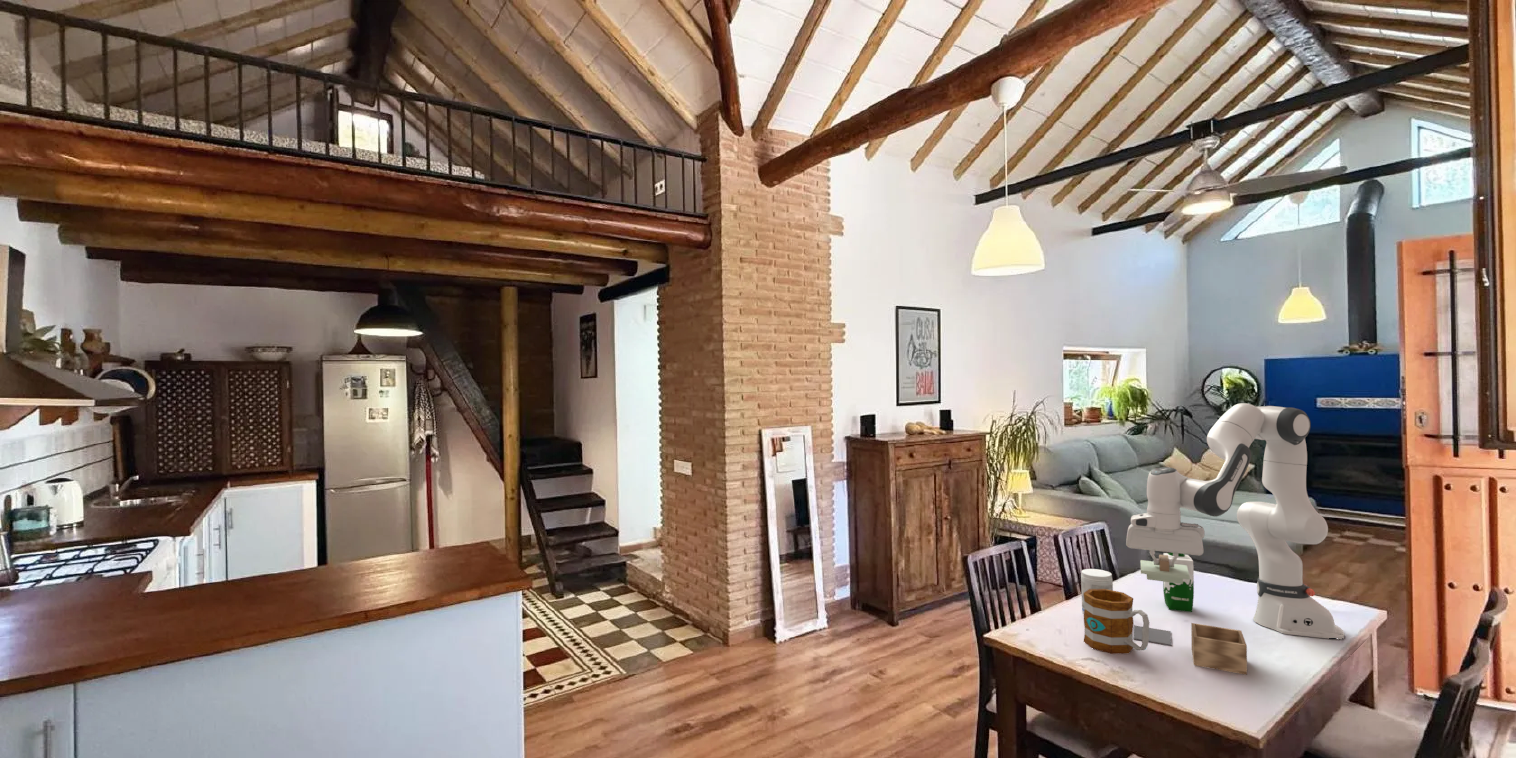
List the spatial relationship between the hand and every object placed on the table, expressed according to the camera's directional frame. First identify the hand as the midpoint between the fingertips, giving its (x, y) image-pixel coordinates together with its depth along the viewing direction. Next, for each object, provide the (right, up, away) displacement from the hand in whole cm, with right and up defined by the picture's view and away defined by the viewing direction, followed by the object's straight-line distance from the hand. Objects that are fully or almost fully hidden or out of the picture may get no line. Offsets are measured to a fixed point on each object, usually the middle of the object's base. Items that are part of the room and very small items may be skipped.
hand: (1163, 565), depth 200 cm
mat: (-1, -23, +4) cm, 24 cm away
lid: (0, -2, 0) cm, 2 cm away
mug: (-17, -24, -5) cm, 30 cm away
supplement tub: (-9, -23, +22) cm, 33 cm away
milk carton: (+23, -23, +28) cm, 43 cm away
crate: (+6, -23, -15) cm, 28 cm away
